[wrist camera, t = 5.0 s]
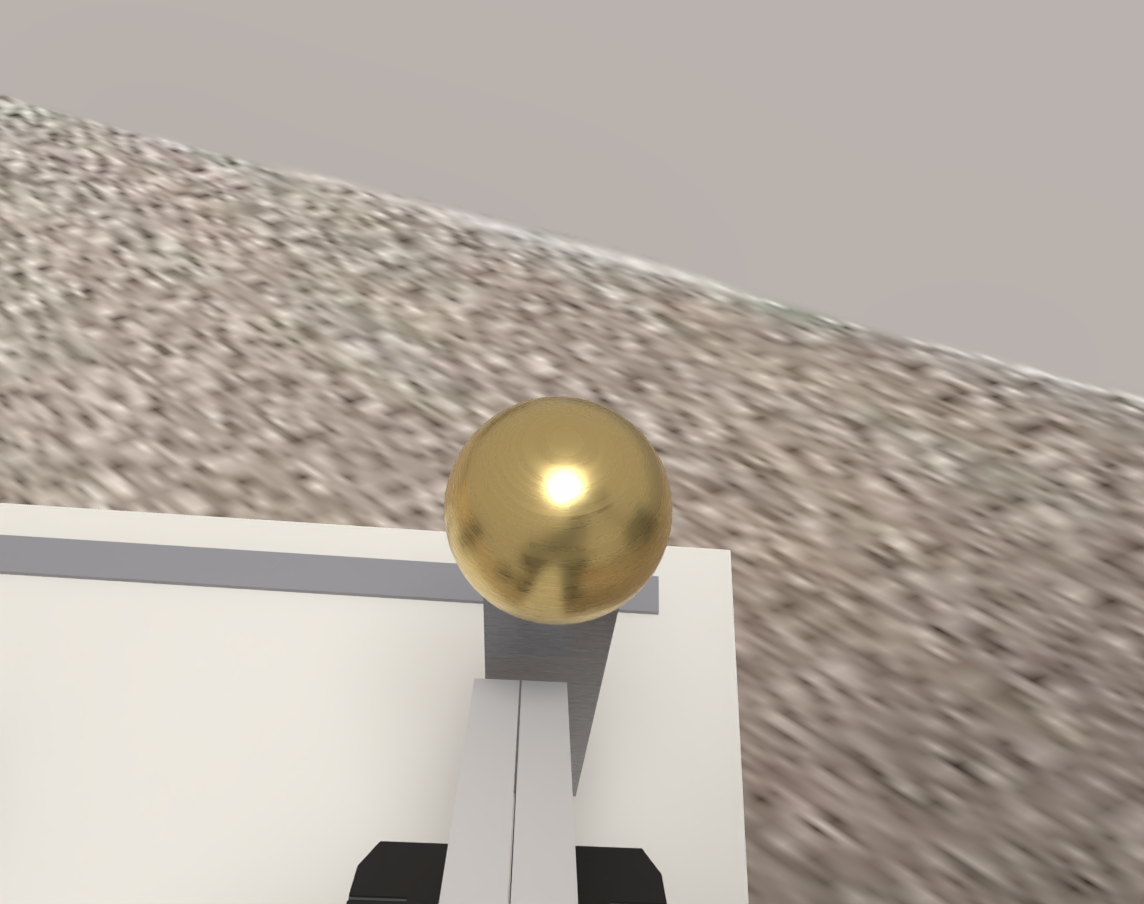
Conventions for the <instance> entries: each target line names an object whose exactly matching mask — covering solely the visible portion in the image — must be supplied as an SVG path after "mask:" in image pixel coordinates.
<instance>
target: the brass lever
mask: <svg viewBox="0 0 1144 904" xmlns="http://www.w3.org/2000/svg"><path fill="white" fill-rule="evenodd" d="M444 521H445V530H446V534H447V539H448V542H449V546H450V549H451V552H452V554H453V556H454V559H455V561H456V563H457V565H458V567H459V568H460V570H461V572H462V573H463V575H464V577H465V578H466V579H467V581H468V582H469V583H470V584H471V585H472V587H473V588H474V589H475V590H476V591H477V592H478V593H479V594H480V595H482V596H483V610H484V649H485V679H502V680H520V684H519V702H518V720H517V738H516V756H515V775H514V793H515V790H516V773H517V755H518V738H519V720H520V703H521V686H522V680H526V681H548V682H567V693H568V712H569V732H570V752H571V772H572V792H573V796H575V797H576V793H577V788H578V784H579V780H580V775H581V771H582V767H583V762H584V758H585V754H586V749H587V745H588V740H589V736H590V732H591V727H592V723H593V719H594V714H595V710H596V706H597V701H598V697H599V693H600V688H601V684H602V680H603V675H604V671H605V666H606V662H607V658H608V653H609V649H610V645H611V640H612V636H613V632H614V627H615V623H616V619H617V614H618V610H619V607H621V606H622V605H623V604H625V603H626V602H627V601H629V600H630V599H632V598H633V597H634V596H635V595H636V594H637V593H638V592H639V591H640V590H641V589H642V588H643V587H644V585H645V584H646V583H647V582H648V580H649V579H650V578H651V576H652V575H653V574H654V572H655V571H656V569H657V567H658V565H659V563H660V562H661V559H662V557H663V555H664V552H665V549H666V547H667V544H668V540H669V535H670V530H671V524H672V499H671V490H670V486H669V482H668V478H667V475H666V472H665V469H664V467H663V465H662V462H661V460H660V458H659V456H658V455H657V453H656V451H655V450H654V448H653V447H652V445H651V444H650V442H649V441H648V440H647V438H646V437H645V436H644V435H643V433H642V432H640V431H639V430H638V429H637V428H636V427H635V426H634V425H633V424H632V423H631V422H629V421H628V420H627V419H625V418H624V417H623V416H621V415H620V414H618V413H616V412H615V411H613V410H611V409H609V408H607V407H605V406H603V405H601V404H598V403H595V402H592V401H589V400H584V399H580V398H573V397H557V396H554V397H542V398H537V399H531V400H528V401H525V402H521V403H519V404H516V405H514V406H512V407H509V408H507V409H505V410H504V411H502V412H500V413H498V414H497V415H495V416H494V417H492V418H491V419H490V420H488V421H487V422H486V423H484V424H483V425H482V426H481V427H480V428H479V429H478V430H477V431H476V432H475V433H474V434H473V435H472V436H471V438H470V439H469V440H468V441H467V443H466V444H465V445H464V447H463V449H462V450H461V452H460V454H459V456H458V457H457V459H456V461H455V463H454V465H453V468H452V470H451V473H450V476H449V479H448V483H447V488H446V492H445V502H444Z"/></svg>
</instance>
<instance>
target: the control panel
mask: <svg viewBox="0 0 1144 904" xmlns="http://www.w3.org/2000/svg"><path fill="white" fill-rule="evenodd" d="M474 678H481V679H485V649H484V610H483V596H482V595H480V594H479V593H478V592H477V591H476V590H475V589H474V588H473V587H472V585H471V584H470V583H469V582H468V581H467V579H466V578H465V577H464V575H463V573H462V572H461V570H460V568H459V567H458V565H457V563H456V561H455V559H454V556H453V554H452V552H451V549H450V546H449V542H448V539H447V534H446V532H442V531H426V530H411V529H395V528H380V527H364V526H349V525H333V524H318V523H302V522H287V521H271V520H256V519H240V518H225V517H209V516H194V515H178V514H163V513H147V512H131V511H116V510H100V509H85V508H69V507H54V506H38V505H23V504H7V503H0V904H346V903H347V901H348V898H349V892H350V889H351V886H352V882H353V879H354V876H355V872H356V869H357V866H358V865H359V863H360V862H361V861H362V860H363V859H364V858H365V857H366V856H367V855H368V854H369V853H370V852H371V851H372V849H373V848H374V847H375V846H376V845H377V844H378V843H379V842H380V841H391V842H417V843H443V844H448V842H449V835H450V829H451V823H452V816H453V810H454V804H455V797H456V791H457V785H458V778H459V772H460V766H461V759H462V753H463V747H464V740H465V734H466V728H467V721H468V715H469V709H470V702H471V696H472V690H473V683H474ZM514 807H515V793H513V811H512V829H511V847H510V865H509V883H508V901H507V904H509V901H510V882H511V863H512V844H513V825H514ZM573 811H574V831H575V846H595V847H621V848H642V849H643V850H644V852H645V853H646V854H647V856H648V857H649V858H650V860H651V861H652V862H653V864H654V865H655V866H656V867H657V869H658V870H659V871H660V873H661V874H662V879H663V885H664V890H665V896H666V901H667V904H749V903H748V883H747V864H746V845H745V825H744V806H743V787H742V767H741V748H740V729H739V710H738V690H737V671H736V652H735V632H734V613H733V594H732V574H731V555H730V550H721V549H706V548H690V547H675V546H667V547H666V549H665V552H664V555H663V557H662V559H661V562H660V563H659V565H658V567H657V569H656V571H655V572H654V574H653V575H652V576H651V578H650V579H649V580H648V582H647V583H646V584H645V585H644V587H643V588H642V589H641V590H640V591H639V592H638V593H637V594H636V595H635V596H634V597H633V598H632V599H630V600H629V601H627V602H626V603H625V604H623V605H622V606H621V607H619V610H618V614H617V619H616V623H615V627H614V632H613V636H612V640H611V645H610V649H609V653H608V658H607V662H606V666H605V671H604V675H603V680H602V684H601V688H600V693H599V697H598V701H597V706H596V710H595V714H594V719H593V723H592V727H591V732H590V736H589V740H588V745H587V749H586V754H585V758H584V762H583V767H582V771H581V775H580V780H579V784H578V788H577V793H576V797H575V796H573Z"/></svg>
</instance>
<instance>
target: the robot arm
mask: <svg viewBox="0 0 1144 904" xmlns="http://www.w3.org/2000/svg"><path fill="white" fill-rule="evenodd" d="M519 684H520V680H502V679H481V678H474V683H473V690H472V696H471V702H470V709H469V715H468V721H467V728H466V734H465V740H464V747H463V753H462V759H461V766H460V772H459V778H458V785H457V791H456V797H455V804H454V810H453V816H452V823H451V829H450V835H449V842H448V844H443V843H417V842H391V841H380V842H379V843H378V844H377V845H376V846H375V847H374V848H373V849H372V851H371V852H370V853H369V854H368V855H367V856H366V857H365V858H364V859H363V860H362V861H361V862H360V863H359V865H358V866H357V869H356V872H355V876H354V879H353V882H352V886H351V889H350V892H349V898H348V901H347V903H346V904H507V901H508V883H509V865H510V847H511V829H512V811H513V793H514V775H515V756H516V738H517V720H518V702H519ZM509 904H667V901H666V896H665V890H664V885H663V879H662V874H661V873H660V871H659V870H658V869H657V867H656V866H655V865H654V864H653V862H652V861H651V860H650V858H649V857H648V856H647V854H646V853H645V852H644V850H643V849H642V848H621V847H595V846H575V831H574V811H573V792H572V772H571V752H570V732H569V712H568V693H567V682H548V681H526V680H522V686H521V703H520V720H519V738H518V755H517V773H516V790H515V807H514V825H513V844H512V863H511V882H510V901H509Z"/></svg>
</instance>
